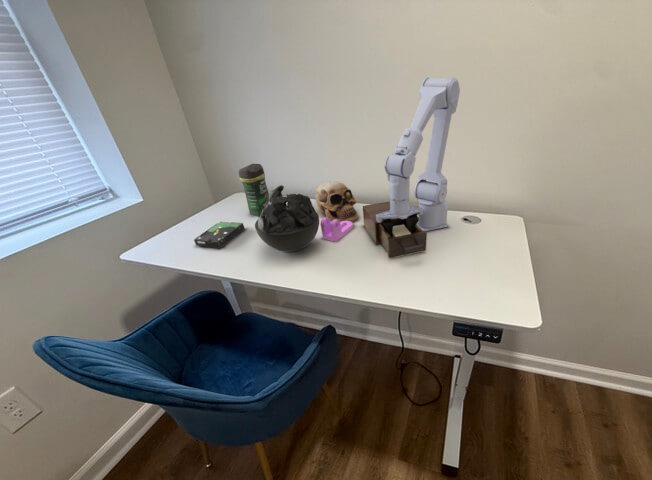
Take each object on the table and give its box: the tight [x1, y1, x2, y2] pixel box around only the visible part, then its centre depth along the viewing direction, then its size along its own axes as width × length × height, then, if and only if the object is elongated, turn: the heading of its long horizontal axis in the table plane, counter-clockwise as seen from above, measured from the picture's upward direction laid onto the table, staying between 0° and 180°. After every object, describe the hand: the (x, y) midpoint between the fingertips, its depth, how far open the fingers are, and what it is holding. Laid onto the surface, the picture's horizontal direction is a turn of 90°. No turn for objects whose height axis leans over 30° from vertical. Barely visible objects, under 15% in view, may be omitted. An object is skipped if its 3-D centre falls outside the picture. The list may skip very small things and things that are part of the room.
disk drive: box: [193, 221, 246, 249], centre depth 114 cm, size 10×3×15 cm
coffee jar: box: [237, 163, 270, 217], centre depth 126 cm, size 10×8×19 cm
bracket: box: [320, 216, 354, 242], centre depth 112 cm, size 13×6×7 cm, turn 152°
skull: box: [314, 180, 359, 223], centre depth 123 cm, size 16×17×13 cm
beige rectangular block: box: [392, 224, 411, 237], centre depth 101 cm, size 5×8×4 cm
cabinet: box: [362, 200, 401, 245], centre depth 110 cm, size 14×13×8 cm
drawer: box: [377, 219, 428, 259], centre depth 99 cm, size 18×12×6 cm, turn 18°
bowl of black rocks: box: [254, 185, 320, 253], centre depth 101 cm, size 20×20×19 cm
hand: (399, 238), depth 102 cm, fingers closed on drawer, 6 cm apart
